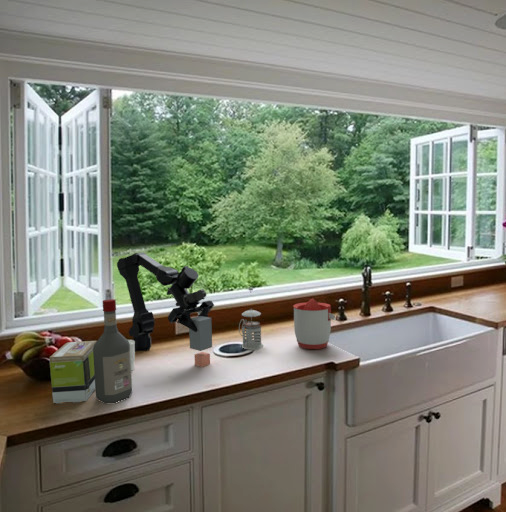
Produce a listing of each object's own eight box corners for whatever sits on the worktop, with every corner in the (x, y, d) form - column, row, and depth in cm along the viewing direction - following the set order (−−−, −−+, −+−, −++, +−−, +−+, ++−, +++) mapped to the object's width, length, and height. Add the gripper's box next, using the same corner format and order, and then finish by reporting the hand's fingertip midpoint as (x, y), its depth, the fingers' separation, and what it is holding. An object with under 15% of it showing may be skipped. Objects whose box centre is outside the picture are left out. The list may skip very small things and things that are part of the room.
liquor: (135, 395, 128) (131, 299, 125) (109, 406, 121) (103, 304, 118) (119, 388, 134) (114, 296, 131) (92, 398, 127) (86, 301, 124)
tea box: (69, 384, 138) (66, 341, 137) (100, 383, 139) (98, 339, 138) (51, 404, 123) (48, 355, 122) (86, 402, 124) (83, 354, 123)
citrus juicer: (333, 353, 163) (332, 303, 162) (290, 350, 169) (289, 301, 167) (338, 342, 178) (337, 295, 176) (298, 339, 184) (297, 294, 182)
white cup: (140, 367, 153) (139, 340, 153) (127, 374, 146) (125, 346, 145) (122, 365, 156) (120, 338, 155) (108, 372, 149) (107, 345, 148)
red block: (194, 364, 155) (194, 354, 154) (202, 361, 158) (202, 351, 157) (202, 367, 152) (201, 356, 152) (210, 364, 155) (209, 353, 155)
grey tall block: (189, 348, 153) (188, 318, 152) (201, 344, 158) (200, 315, 157) (200, 351, 150) (199, 321, 149) (212, 347, 154) (211, 317, 153)
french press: (268, 345, 176) (267, 286, 174) (249, 352, 167) (248, 290, 165) (251, 341, 183) (250, 284, 180) (232, 347, 174) (230, 288, 172)
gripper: (171, 286, 147) (193, 321, 141) (210, 279, 161) (231, 311, 155) (158, 305, 153) (179, 340, 147) (197, 297, 167) (217, 328, 161)
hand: (202, 329), depth 152 cm, fingers closed on grey tall block, 6 cm apart
